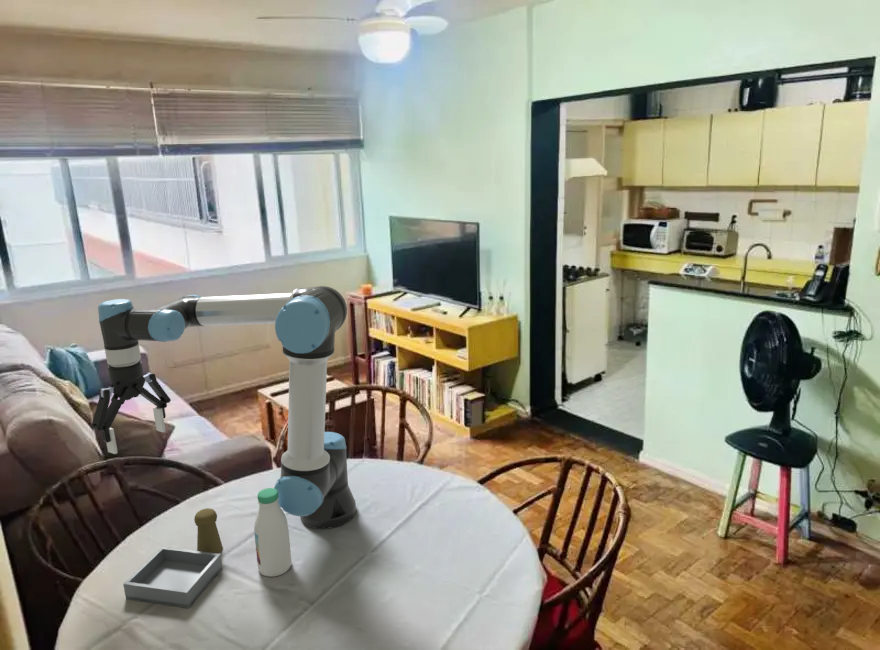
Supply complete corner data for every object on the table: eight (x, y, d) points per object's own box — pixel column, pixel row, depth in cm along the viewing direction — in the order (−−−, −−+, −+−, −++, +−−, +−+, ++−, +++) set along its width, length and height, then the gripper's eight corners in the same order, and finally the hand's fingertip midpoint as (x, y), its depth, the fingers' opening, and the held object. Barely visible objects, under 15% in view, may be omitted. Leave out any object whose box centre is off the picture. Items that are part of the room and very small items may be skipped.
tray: (222, 568, 145) (220, 553, 144) (189, 608, 132) (186, 592, 131) (164, 560, 148) (162, 546, 147) (125, 599, 135) (123, 583, 134)
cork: (201, 544, 155) (195, 505, 152) (225, 542, 155) (220, 504, 152) (193, 559, 149) (188, 519, 146) (219, 557, 149) (214, 517, 146)
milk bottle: (297, 560, 148) (291, 486, 142) (279, 580, 141) (272, 503, 135) (270, 554, 150) (263, 481, 145) (251, 574, 143) (243, 498, 138)
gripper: (158, 346, 162) (170, 420, 168) (64, 375, 141) (81, 459, 147) (177, 350, 158) (188, 425, 164) (84, 380, 137) (100, 465, 143)
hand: (137, 441), depth 155 cm, fingers open, 13 cm apart
